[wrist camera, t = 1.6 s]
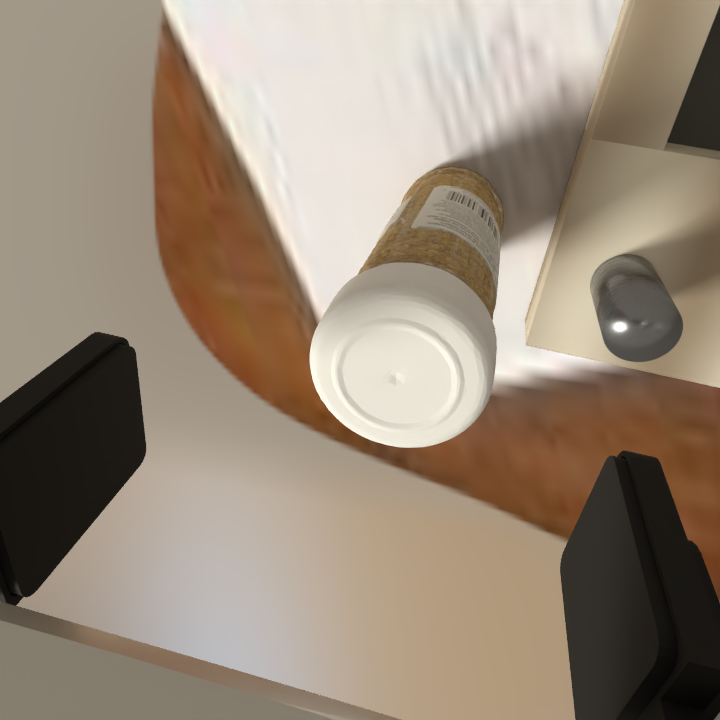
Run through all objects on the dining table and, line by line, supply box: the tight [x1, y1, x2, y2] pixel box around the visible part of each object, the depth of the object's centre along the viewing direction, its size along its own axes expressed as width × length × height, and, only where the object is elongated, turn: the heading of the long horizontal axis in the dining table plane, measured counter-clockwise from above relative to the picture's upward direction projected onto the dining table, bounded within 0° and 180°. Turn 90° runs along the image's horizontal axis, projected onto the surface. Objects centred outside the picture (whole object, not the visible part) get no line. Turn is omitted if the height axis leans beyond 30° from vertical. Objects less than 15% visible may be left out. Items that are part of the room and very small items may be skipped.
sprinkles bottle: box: [310, 167, 504, 447], centre depth 19 cm, size 5×5×14 cm
